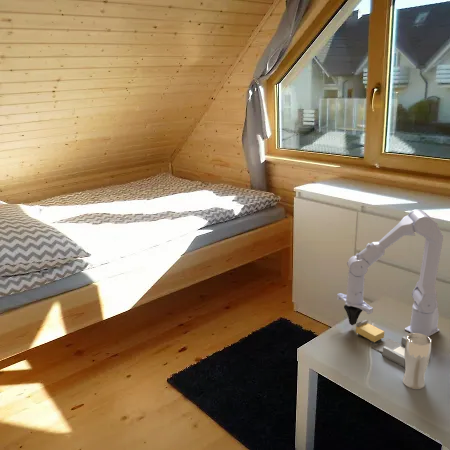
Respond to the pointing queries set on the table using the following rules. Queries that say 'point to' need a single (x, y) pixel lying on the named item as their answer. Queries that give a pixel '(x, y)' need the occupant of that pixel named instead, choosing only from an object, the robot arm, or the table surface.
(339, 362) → the table surface
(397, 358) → the dock
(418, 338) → the beer glass
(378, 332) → the toy bed
